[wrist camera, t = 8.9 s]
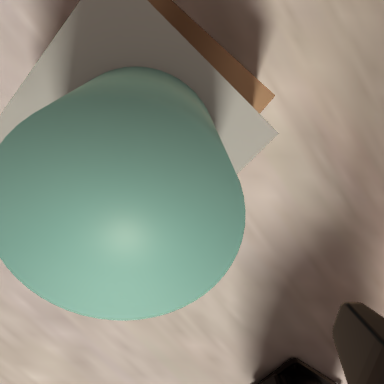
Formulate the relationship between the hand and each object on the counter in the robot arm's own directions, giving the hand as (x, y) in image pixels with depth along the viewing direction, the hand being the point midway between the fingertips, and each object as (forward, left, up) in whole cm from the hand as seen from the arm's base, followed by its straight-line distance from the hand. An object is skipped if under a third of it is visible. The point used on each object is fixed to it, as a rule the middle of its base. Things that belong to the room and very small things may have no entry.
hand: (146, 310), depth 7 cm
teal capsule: (+2, -1, -5) cm, 5 cm away
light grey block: (+2, -1, -9) cm, 9 cm away
